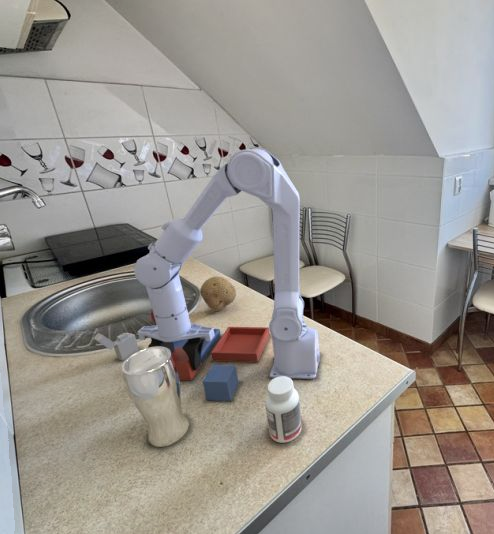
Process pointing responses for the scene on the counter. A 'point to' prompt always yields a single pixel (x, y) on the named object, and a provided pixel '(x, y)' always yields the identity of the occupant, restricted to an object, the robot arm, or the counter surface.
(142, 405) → the beer glass
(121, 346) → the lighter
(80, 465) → the counter surface
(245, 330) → the red tray
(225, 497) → the counter surface
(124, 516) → the counter surface
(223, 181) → the robot arm
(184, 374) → the red block
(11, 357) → the counter surface
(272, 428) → the pill bottle
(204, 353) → the blue tray
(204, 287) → the potato
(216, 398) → the blue block
